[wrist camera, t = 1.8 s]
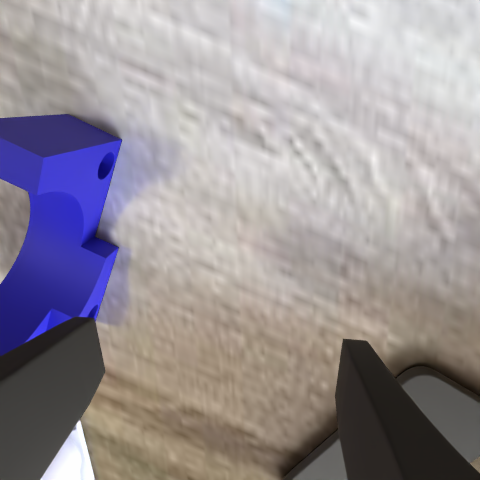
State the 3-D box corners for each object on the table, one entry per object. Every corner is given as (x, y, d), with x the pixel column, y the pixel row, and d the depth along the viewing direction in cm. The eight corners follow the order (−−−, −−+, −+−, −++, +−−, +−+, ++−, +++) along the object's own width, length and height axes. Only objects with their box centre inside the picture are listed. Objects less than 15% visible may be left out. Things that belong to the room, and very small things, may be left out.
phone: (274, 492, 25) (420, 367, 19) (275, 480, 26) (415, 356, 20) (357, 536, 25) (525, 429, 19) (356, 523, 26) (516, 416, 20)
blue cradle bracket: (95, 321, 22) (30, 394, 17) (31, 293, 22) (-55, 357, 16) (149, 152, 17) (83, 176, 12) (67, 114, 17) (-37, 120, 12)
